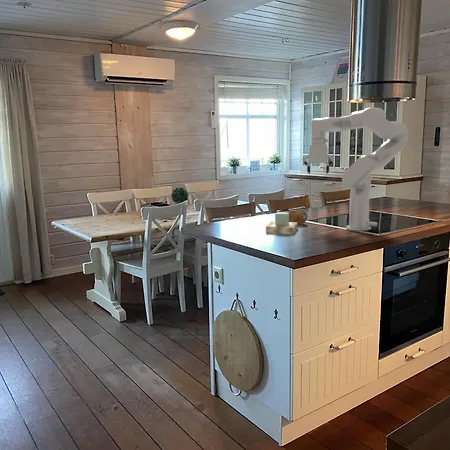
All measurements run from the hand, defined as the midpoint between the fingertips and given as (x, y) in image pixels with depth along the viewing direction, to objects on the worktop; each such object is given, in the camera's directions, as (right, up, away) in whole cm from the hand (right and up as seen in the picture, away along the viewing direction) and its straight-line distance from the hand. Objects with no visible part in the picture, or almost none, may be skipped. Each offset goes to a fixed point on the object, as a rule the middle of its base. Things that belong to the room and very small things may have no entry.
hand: (318, 173), depth 257 cm
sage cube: (-21, -28, -13) cm, 38 cm away
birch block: (-21, -32, -12) cm, 40 cm away
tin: (-13, -29, +4) cm, 32 cm away
